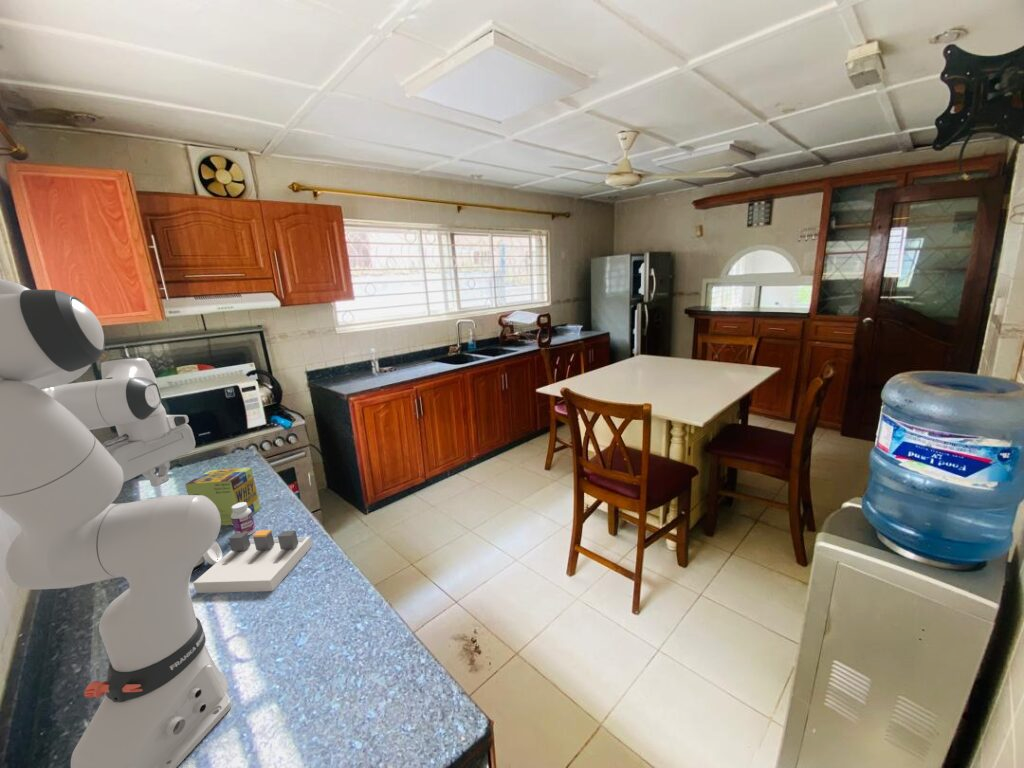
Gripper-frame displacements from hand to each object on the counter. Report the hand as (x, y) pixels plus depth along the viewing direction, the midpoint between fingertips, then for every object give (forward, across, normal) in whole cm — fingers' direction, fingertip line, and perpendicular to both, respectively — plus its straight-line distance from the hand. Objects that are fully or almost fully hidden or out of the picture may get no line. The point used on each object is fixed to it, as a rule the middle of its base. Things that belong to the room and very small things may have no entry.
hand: (160, 483), depth 96 cm
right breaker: (+26, +12, -19) cm, 34 cm away
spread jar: (+29, +10, +7) cm, 32 cm away
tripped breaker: (+26, +12, -12) cm, 31 cm away
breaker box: (+29, +8, -12) cm, 32 cm away
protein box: (+29, +35, +17) cm, 49 cm away
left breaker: (+26, +12, -5) cm, 29 cm away
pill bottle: (+29, +25, +4) cm, 39 cm away
